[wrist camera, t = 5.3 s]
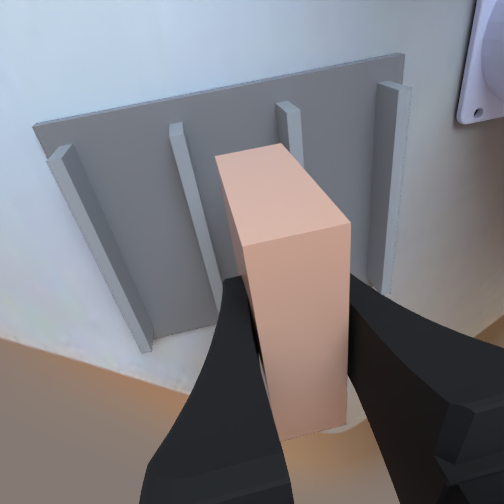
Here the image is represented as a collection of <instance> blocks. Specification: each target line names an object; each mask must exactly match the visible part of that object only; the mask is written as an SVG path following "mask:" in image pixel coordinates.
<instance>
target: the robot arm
mask: <svg viewBox="0 0 504 504" xmlns="http://www.w3.org/2000/svg"><path fill="white" fill-rule="evenodd" d="M477 109H478V112H477V114H476V115H475V116H474V113H475V111H476V110H477ZM500 117H504V0H477V4H476V10H475V15H474V21H473V26H472V32H471V38H470V43H469V49H468V54H467V60H466V65H465V71H464V77H463V82H462V88H461V93H460V99H459V105H458V110H457V121H458V122H460V123H462V124H471V123H476V122H481V121H486V120H490V119H495V118H500ZM222 284H223V292H222V301H221V307H220V312H219V317H218V321H217V325H216V329H215V332H214V336H213V339H212V343H211V346H210V349H209V352H208V355H207V357H206V360H205V362H204V365H203V367H202V370H201V372H200V375H199V377H198V379H197V381H196V383H195V385H194V388H193V390H192V392H191V394H190V396H189V398H188V400H187V402H186V404H185V405H184V407H183V409H182V411H181V412H180V414H179V416H178V418H177V419H176V421H175V423H174V425H173V426H172V429H171V430H170V431H169V433H168V435H167V436H166V438H165V439H164V441H163V442H162V444H161V445H160V447H159V448H158V450H157V451H156V453H155V454H154V456H153V457H152V459H151V460H150V462H149V463H148V466H147V469H146V473H145V477H144V481H143V486H142V490H141V495H140V502H139V504H294V500H293V494H292V488H291V483H290V478H289V474H288V470H287V466H286V462H285V458H284V454H283V450H282V447H281V443H280V439H279V436H278V432H277V429H276V425H275V421H274V418H273V414H272V411H271V407H270V403H269V399H268V396H267V392H266V388H265V385H264V381H263V377H262V373H261V368H260V361H259V354H258V348H257V343H256V338H255V333H254V328H253V322H252V317H251V312H250V307H249V302H248V296H247V292H246V289H245V285H244V282H243V279H242V275H240V276H236V277H232V278H227V279H225V280H224V281H223V282H222ZM347 375H348V376H349V378H350V380H351V382H352V384H353V386H354V388H355V390H356V392H357V395H358V397H359V399H360V402H361V404H362V407H363V409H364V411H365V414H366V416H367V418H368V421H369V423H370V426H371V428H372V431H373V433H374V436H375V438H376V441H377V443H378V446H379V448H380V451H381V454H382V456H383V459H384V461H385V464H386V467H387V469H388V472H389V474H390V477H391V480H392V482H393V485H394V488H395V491H396V493H397V496H398V499H399V502H400V504H504V348H501V347H498V346H495V345H492V344H489V343H487V342H483V341H481V340H478V339H475V338H472V337H469V336H467V335H464V334H461V333H459V332H456V331H454V330H451V329H449V328H447V327H444V326H442V325H439V324H437V323H435V322H433V321H430V320H428V319H426V318H424V317H422V316H420V315H418V314H416V313H414V312H412V311H410V310H408V309H406V308H404V307H402V306H401V305H399V304H397V303H395V302H394V301H392V300H390V299H389V298H387V297H385V296H383V295H382V294H380V293H379V292H377V291H376V290H374V289H373V288H371V287H370V286H368V285H367V284H365V283H364V282H362V281H361V280H359V279H358V278H357V277H355V276H354V275H352V274H351V273H350V288H349V328H348V369H347Z"/></svg>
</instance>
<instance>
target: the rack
mask: <svg viewBox="0 0 504 504" xmlns="http://www.w3.org/2000/svg"><path fill="white" fill-rule="evenodd" d="M404 58H405V54H401V53H396V54H391V55H386V56H380V57H375V58H370V59H365V60H360V61H355V62H350V63H344V64H339V65H334V66H329V67H324V68H319V69H314V70H308V71H303V72H298V73H293V74H288V75H283V76H278V77H272V78H267V79H262V80H257V81H252V82H247V83H242V84H236V85H231V86H226V87H221V88H216V89H211V90H206V91H200V92H195V93H190V94H185V95H180V96H175V97H170V98H164V99H159V100H154V101H149V102H144V103H139V104H134V105H128V106H123V107H118V108H113V109H108V110H103V111H98V112H92V113H87V114H82V115H77V116H72V117H67V118H62V119H56V120H51V121H46V122H41V123H36V124H35V125H34V126H33V127H32V128H33V130H34V132H35V134H36V136H37V138H38V140H39V142H40V144H41V146H42V148H43V150H44V152H45V154H46V156H47V158H48V160H47V161H46V162H47V164H48V166H49V168H50V170H51V172H52V174H53V176H54V178H55V180H56V182H57V184H58V186H59V188H60V190H61V192H62V194H63V196H64V198H65V200H66V202H67V204H68V206H69V208H70V210H71V212H72V214H73V216H74V218H75V220H76V222H77V224H78V227H79V229H80V231H81V233H82V235H83V237H84V239H85V241H86V243H87V245H88V247H89V249H90V251H91V253H92V255H93V257H94V259H95V261H96V263H97V265H98V267H99V269H100V271H101V273H102V275H103V277H104V279H105V281H106V283H107V285H108V287H109V289H110V291H111V293H112V295H113V297H114V299H115V301H116V303H117V305H118V307H119V309H120V311H121V313H122V315H123V317H124V319H125V321H126V323H127V325H128V327H129V329H130V331H131V333H132V335H133V337H134V339H135V341H136V343H137V345H138V347H139V349H140V351H141V353H142V354H144V353H148V352H152V343H153V339H156V338H160V337H164V336H168V335H172V334H176V333H180V332H185V331H189V330H193V329H197V328H201V327H205V326H210V325H214V324H217V321H218V317H219V312H220V307H221V301H222V292H223V284H222V282H223V281H224V280H225V279H227V278H232V277H236V276H239V275H238V270H237V265H236V260H235V255H234V250H233V245H232V240H231V235H230V230H229V225H228V220H227V215H226V210H225V205H224V200H223V195H222V190H221V185H220V180H219V175H218V170H217V165H216V160H215V156H218V155H223V154H228V153H234V152H239V151H244V150H249V149H254V148H259V147H264V146H269V145H274V144H279V143H282V145H283V146H284V147H285V148H286V149H287V150H288V151H289V152H290V154H291V155H292V156H293V157H294V158H295V159H296V160H297V162H298V163H299V164H300V165H301V166H302V167H303V168H304V170H305V171H306V172H307V173H308V174H309V175H310V176H311V178H312V179H313V180H314V181H315V182H316V183H317V184H318V186H319V187H320V188H321V189H322V190H323V191H324V192H325V194H326V195H327V196H328V197H329V198H330V199H331V200H332V201H333V203H334V204H335V205H336V206H337V207H338V208H339V209H340V211H341V212H342V213H343V214H344V215H345V216H346V217H347V219H348V220H349V221H350V222H351V247H350V273H351V274H352V275H354V276H355V277H357V278H358V279H359V280H361V281H362V282H364V283H365V284H367V285H368V286H370V287H372V286H374V287H375V288H376V289H377V291H378V292H379V293H380V294H382V295H387V294H390V292H391V283H392V273H393V264H394V254H395V245H396V235H397V225H398V216H399V206H400V197H401V187H402V178H403V168H404V159H405V149H406V140H407V130H408V120H409V111H410V101H411V92H412V87H409V86H406V85H402V81H403V69H404Z"/></svg>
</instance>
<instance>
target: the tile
mask: <svg viewBox="0 0 504 504" xmlns="http://www.w3.org/2000/svg"><path fill="white" fill-rule="evenodd" d="M215 160H216V165H217V170H218V175H219V180H220V185H221V190H222V195H223V200H224V205H225V210H226V215H227V220H228V225H229V230H230V235H231V240H232V245H233V250H234V255H235V260H236V265H237V270H238V275H239V276H240V275H242V279H243V282H244V285H245V289H246V292H247V296H248V302H249V307H250V312H251V317H252V322H253V328H254V333H255V338H256V343H257V348H258V354H259V361H260V368H261V373H262V377H263V381H264V385H265V388H266V392H267V396H268V399H269V403H270V407H271V411H272V414H273V418H274V421H275V425H276V429H277V432H278V436H279V439H280V442H282V441H285V440H289V439H293V438H297V437H301V436H304V435H308V434H312V433H315V432H319V431H323V430H327V429H331V428H335V427H338V426H342V425H346V409H347V369H348V328H349V288H350V247H351V222H350V221H349V220H348V219H347V217H346V216H345V215H344V214H343V213H342V212H341V211H340V209H339V208H338V207H337V206H336V205H335V204H334V203H333V201H332V200H331V199H330V198H329V197H328V196H327V195H326V194H325V192H324V191H323V190H322V189H321V188H320V187H319V186H318V184H317V183H316V182H315V181H314V180H313V179H312V178H311V176H310V175H309V174H308V173H307V172H306V171H305V170H304V168H303V167H302V166H301V165H300V164H299V163H298V162H297V160H296V159H295V158H294V157H293V156H292V155H291V154H290V152H289V151H288V150H287V149H286V148H285V147H284V146H283V145H282V143H279V144H274V145H269V146H264V147H259V148H254V149H249V150H244V151H239V152H234V153H228V154H223V155H218V156H215Z"/></svg>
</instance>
